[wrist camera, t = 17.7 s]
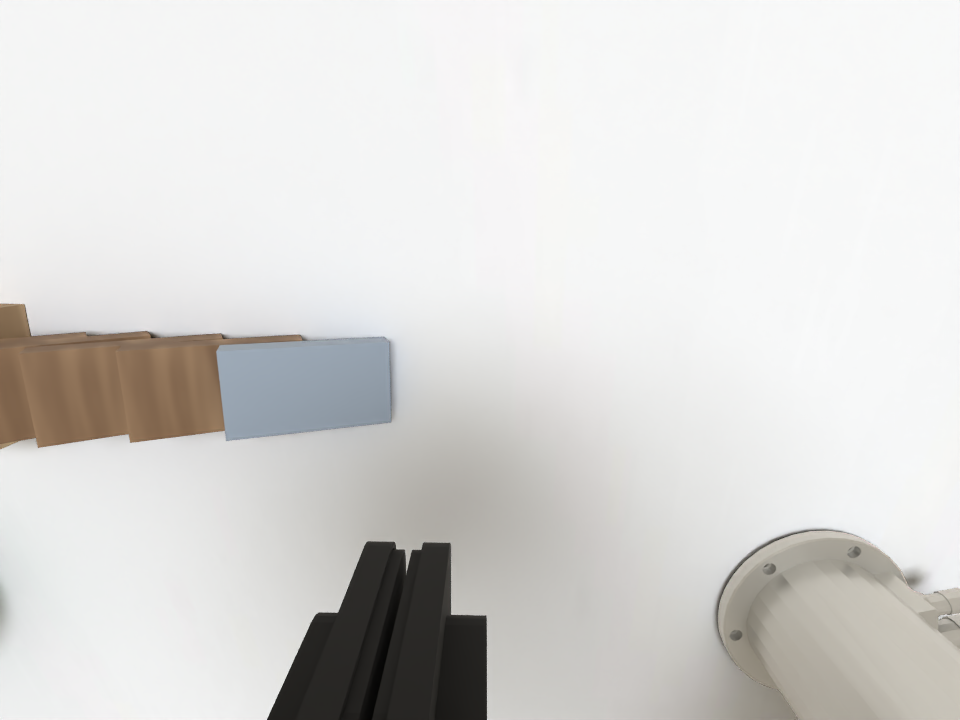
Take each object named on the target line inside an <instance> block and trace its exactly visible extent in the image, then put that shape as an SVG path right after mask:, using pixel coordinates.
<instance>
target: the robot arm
mask: <svg viewBox="0 0 960 720" xmlns="http://www.w3.org/2000/svg"><path fill="white" fill-rule="evenodd" d="M957 613H960V589H959V588H953V589H947V590H942V591H937V592H934V593H933V594H928V595H923V594H922V593H920V592H917V591H913V590H912V589H911V588H910V587H909V586H908V584H907V581H906V579H905V577H904V575H903V573H902V571H901V570H900V568H899V567H898V566H897V565H896V564H895V563H894V561H893V560H892V559H891V558H890V557H889V556H887V555H886V554H885V553H884V552H882V551H881V550H880V549H878V548H877V547H876V546H875V545H873V544H871V543H869V542H867V541H866V540H864V539H862V538H860V537H857V536H854V535H851V534H848V533H843V532H835V531H809V532H804V533H799V534H794V535H791V536H788V537H785V538H782V539H780V540H777V541H775V542H773V543H771V544H769V545H767V546H766V547H764V548H762V549H760V550H759V551H757V552H756V553H755V554H754V555H752V556H751V557H750V558H749V559H747V560H746V561H745V562H744V563H743V564H742V565H741V566H740V567H739V569H738V570H737V571H736V572H735V573H734V574H733V576H732V577H731V579H730V581H729V582H728V584H727V586H726V587H725V589H724V592H723V595H722V598H721V600H720V604H719V611H718V626H719V633H720V636H721V639H722V641H723V644H724V646H725V648H726V649H727V651H728V653H729V655H730V656H731V658H732V660H733V661H734V662H735V663H736V665H737V666H738V667H739V668H740V670H741V671H743V672H744V673H745V674H746V675H748V676H749V677H750V678H751V679H753V680H755V681H757V682H759V683H761V684H763V685H764V686H767V687H770V688H773V689H776V690H780V692H781V693H782V695H783V696H784V698H785V699H786V701H787V703H788V704H789V706H790V707H791V709H792V710H793V712H794V713H795V715H796V716H797V718H798V719H799V720H960V614H957ZM945 614H947V615H951V616H946V617H943V618H942V619H940V620H938V616H940V615H945ZM952 614H956V615H952ZM267 720H487V618H486V616H473V615H451V544H450V543H425V542H424V543H423V546H422V550H412V553H411V557H410V561H409V565H408V570H407V574H406V557H405V550H396V545H395V542H369V541H368V542H366V544H365V546H364V549H363V551H362V554H361V556H360V559H359V561H358V564H357V567H356V569H355V572H354V574H353V577H352V579H351V582H350V584H349V587H348V589H347V592H346V594H345V597H344V599H343V602H342V604H341V607H340V609H339V612H338V613H318V614H316V615H315V617H314V619H313V620H312V622H311V624H310V626H309V629H308V631H307V633H306V635H305V637H304V640H303V642H302V644H301V646H300V648H299V651H298V653H297V655H296V657H295V659H294V662H293V664H292V666H291V668H290V670H289V672H288V675H287V677H286V679H285V681H284V683H283V686H282V688H281V690H280V692H279V694H278V697H277V699H276V701H275V703H274V705H273V708H272V710H271V712H270V714H269V716H268V719H267Z"/></svg>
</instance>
